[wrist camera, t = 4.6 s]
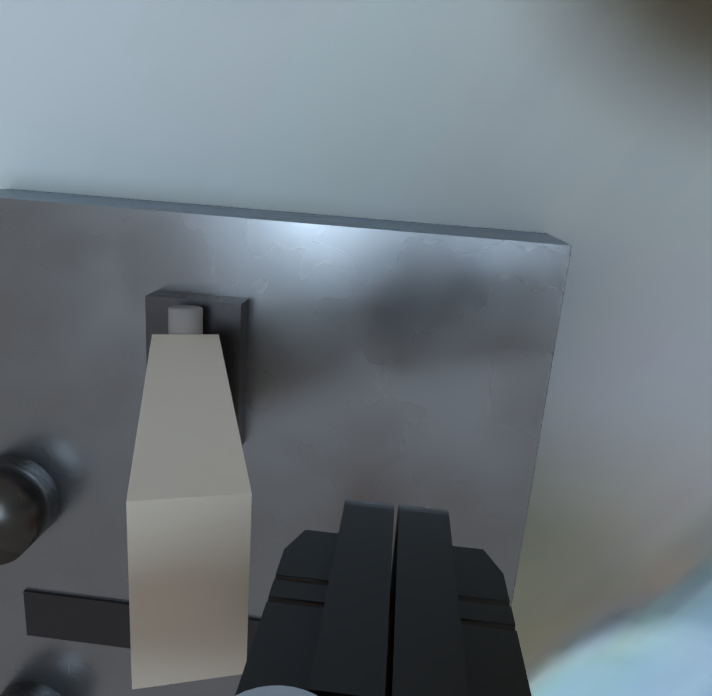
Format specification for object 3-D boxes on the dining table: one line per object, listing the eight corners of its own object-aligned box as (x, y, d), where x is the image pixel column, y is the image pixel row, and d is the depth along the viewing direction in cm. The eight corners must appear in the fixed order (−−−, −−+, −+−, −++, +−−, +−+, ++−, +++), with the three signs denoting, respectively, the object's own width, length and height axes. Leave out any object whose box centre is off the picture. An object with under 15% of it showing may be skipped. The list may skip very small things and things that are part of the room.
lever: (216, 305, 16) (252, 457, 8) (215, 445, 17) (245, 702, 9) (153, 304, 15) (124, 464, 7) (155, 448, 16) (132, 719, 9)
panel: (546, 233, 18) (588, 253, 14) (446, 871, 25) (453, 1018, 21) (8, 188, 19) (-111, 194, 15) (56, 813, 26) (-15, 942, 22)
